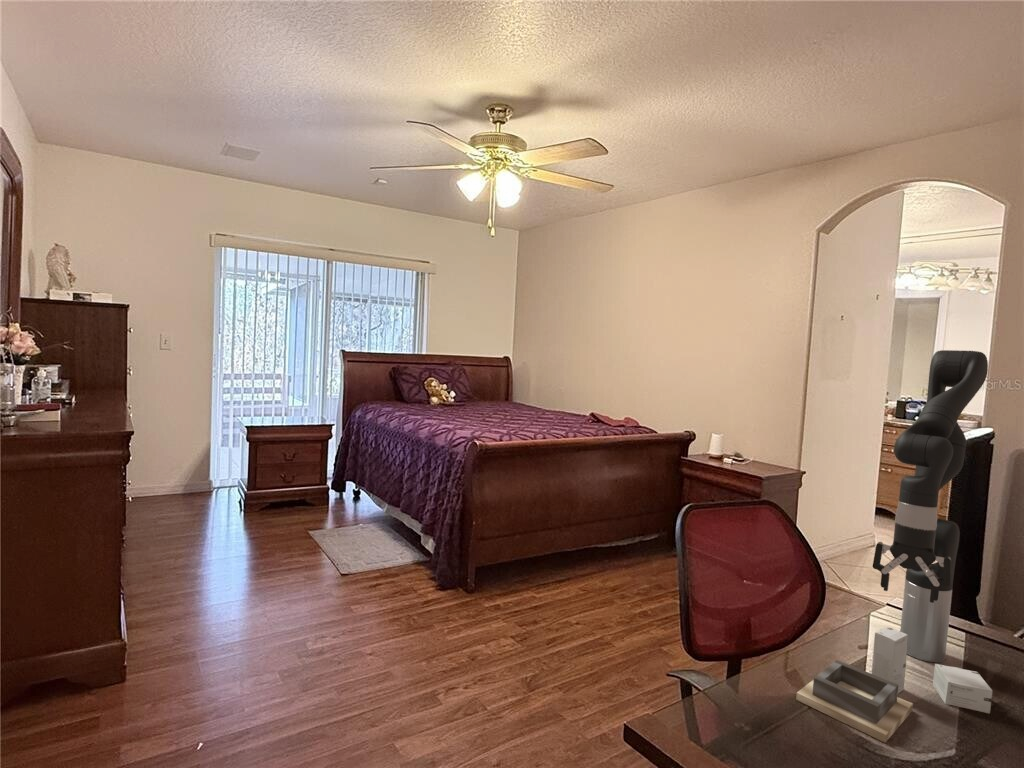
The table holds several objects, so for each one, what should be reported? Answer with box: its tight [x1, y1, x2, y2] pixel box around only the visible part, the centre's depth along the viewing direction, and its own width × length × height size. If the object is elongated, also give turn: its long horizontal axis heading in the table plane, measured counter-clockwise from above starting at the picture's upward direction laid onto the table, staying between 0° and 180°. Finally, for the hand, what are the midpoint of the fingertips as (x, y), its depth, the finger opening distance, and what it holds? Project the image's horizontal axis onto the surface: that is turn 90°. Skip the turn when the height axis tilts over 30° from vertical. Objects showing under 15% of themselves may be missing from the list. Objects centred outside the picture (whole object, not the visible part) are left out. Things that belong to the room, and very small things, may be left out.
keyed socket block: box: [795, 659, 914, 743], centre depth 117 cm, size 16×16×5 cm
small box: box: [932, 663, 993, 714], centre depth 122 cm, size 8×8×5 cm
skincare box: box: [871, 626, 908, 694], centre depth 124 cm, size 6×4×12 cm
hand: (908, 595), depth 129 cm, fingers open, 8 cm apart
